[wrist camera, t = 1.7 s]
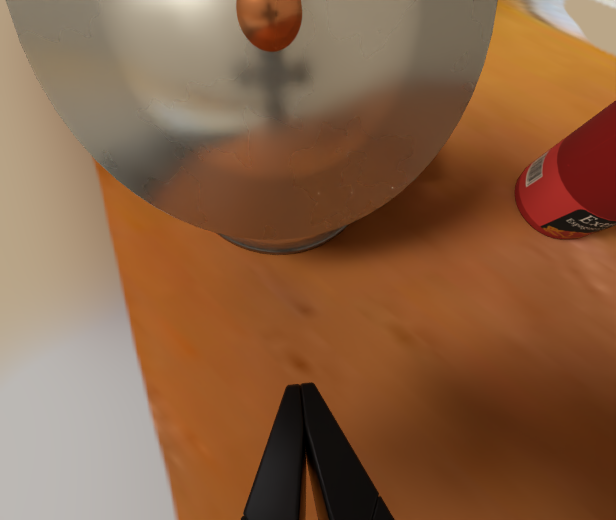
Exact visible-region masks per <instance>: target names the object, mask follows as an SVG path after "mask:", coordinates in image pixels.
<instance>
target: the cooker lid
mask: <svg viewBox="0 0 616 520" xmlns="http://www.w3.org/2000/svg"><path fill="white" fill-rule="evenodd" d="M6 2H7V5H8V8H9V11H10V14H11V17H12V20H13V23H14V26H15V29H16V32H17V34H18V37H19V41H20V43H21V45H22V48H23V49H24V52H25V54H26V56H27V58H28V60H29V63H30V64H31V67H32V69H33V71H34V73H35V75H36V77H37V79H38V81H39V83H40V85H41V86H42V88H43V90H44V91H45V93H46V95H47V96H48V98H49V100H50V101H51V103H52V105H53V106H54V108H55V109H56V111H57V113H58V114H59V115H60V116H61V118H62V119H63V121H64V122H65V124H66V125H67V126H68V128H69V129H70V130H71V132H72V133H73V134H74V136H75V137H76V138H77V139H78V141H79V142H80V143H81V144H82V145H83V146H84V147H85V148H86V149H87V151H88V152H89V153H90V154H91V155H92V156H93V157H94V158H95V160H96V161H97V162H99V163H100V164H101V165H102V166H103V167H104V168H105V169H106V170H107V171H108V172H109V173H110V174H111V175H113V176H114V177H115V178H116V179H117V180H118V181H119V182H121V183H122V184H123V185H125V186H126V187H127V188H128V189H130V190H131V191H132V192H134V193H135V194H136V195H138V196H139V197H141V198H142V199H144V200H145V201H147V202H148V203H150V204H152V205H153V206H155V207H156V208H158V209H160V210H162V211H164V212H166V213H168V214H169V215H171V216H173V217H175V218H177V219H180V220H182V221H184V222H187V223H189V224H191V225H194V226H196V227H200V228H203V229H206V230H209V231H212V232H215V233H220V234H224V235H228V236H233V237H240V238H247V239H259V240H285V239H294V238H302V237H307V236H312V235H317V234H321V233H324V232H328V231H331V230H334V229H337V228H340V227H342V226H345V225H347V224H350V223H352V222H354V221H356V220H358V219H360V218H362V217H364V216H366V215H368V214H370V213H372V212H373V211H375V210H376V209H378V208H380V207H381V206H383V205H384V204H386V203H387V202H389V201H390V200H391V199H393V198H394V197H395V196H396V195H398V194H399V193H400V192H402V191H403V190H404V189H405V188H406V187H407V186H408V185H409V184H410V183H412V182H413V181H414V180H415V179H416V178H417V177H418V176H419V175H420V174H421V173H422V171H423V170H424V169H425V168H426V167H427V166H428V165H429V164H430V163H431V162H432V160H433V159H434V158H435V156H436V155H437V154H438V152H439V151H440V150H441V148H442V147H443V146H444V144H445V143H446V142H447V140H448V138H449V137H450V135H451V134H452V132H453V130H454V129H455V127H456V126H457V124H458V122H459V121H460V119H461V117H462V115H463V113H464V111H465V109H466V107H467V105H468V103H469V101H470V99H471V97H472V94H473V92H474V89H475V87H476V84H477V81H478V79H479V76H480V73H481V71H482V68H483V65H484V62H485V58H486V54H487V50H488V47H489V43H490V39H491V36H492V31H493V25H494V19H495V13H496V7H497V0H6Z"/></svg>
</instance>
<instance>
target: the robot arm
mask: <svg viewBox="0 0 616 520" xmlns="http://www.w3.org/2000/svg"><path fill="white" fill-rule="evenodd" d="M305 449H306V450H305ZM306 458H307V465H308V471H309V476H310V481H311V486H312V491H313V496H314V501H315V506H316V511H317V516H318V520H395V519H394V518H393V516H392V514H391V513H390V511H389V510H388V508H387V506H386V504H385V503H384V501H383V499H382V498H381V496H379V497H378V495H379V493H378V491H377V489H376V488H375V486H374V484H373V483H372V481H371V479H370V478H369V476H368V474H367V472H366V471H365V469H364V467H363V466H362V464H361V462H360V461H359V459H358V457H357V455H356V454H355V452H354V450H353V449H352V447H351V445H350V444H349V442H348V440H347V438H346V437H345V435H344V433H343V432H342V430H341V428H340V427H339V425H338V423H337V421H336V420H335V418H334V416H333V415H332V413H331V411H330V410H329V408H328V406H327V404H326V403H325V401H324V399H323V398H322V396H321V394H320V393H319V391H318V389H317V387H316V386H315V384H314V383H312V382H311V383H302V384H301V385H299V384H293V385H288V386H287V387H286V389H285V392H284V395H283V398H282V400H281V403H280V406H279V409H278V412H277V415H276V418H275V421H274V424H273V427H272V430H271V433H270V436H269V439H268V442H267V445H266V447H265V450H264V453H263V456H262V459H261V462H260V465H259V468H258V471H257V474H256V477H255V480H254V483H253V486H252V489H251V492H250V495H249V497H248V500H247V503H246V506H245V509H244V512H243V514H244V516H242V518H241V520H305V515H306Z"/></svg>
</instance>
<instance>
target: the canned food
mask: <svg viewBox="0 0 616 520" xmlns="http://www.w3.org/2000/svg"><path fill="white" fill-rule="evenodd" d="M515 199H516V203H517V206H518V209H519V211H520V213H521V214H522V216H523V217H524V219H525V220H526V221H527V222H528V223H529V224H530V225H531V226H532V227H533V228H534V229H536V230H537V231H538V232H540V233H542V234H544V235H546V236H549V237H552V238H557V239H571V238H580V237H583V236H586V235H589V234H592V233H595V232H597V231H600V230H603V229H606V228H609V227H612V226H615V225H616V101H614V102H613V103H612V104H610V105H609V106H608V107H606V108H605V109H604V110H602V111H601V112H599V113H598V114H597V115H595V116H594V117H593V118H591V119H590V120H589V121H587V122H586V123H585V124H583V125H582V126H581V127H579V128H578V129H577V130H575V131H574V132H573V133H571V134H570V135H569V136H567V137H566V138H565V139H563V140H562V141H561V142H559V143H558V144H556V145H555V146H554V147H552V148H551V149H550V150H548V151H547V152H546V153H544V154H543V155H542V156H540V157H539V158H538V159H536V160H535V161H534V162H532V163H531V164H530V165H529V166H528V167H526V168H525V170H524V171H523V173H522V174H521V176H520V177H519V179H518V180H517V183H516V186H515Z"/></svg>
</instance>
